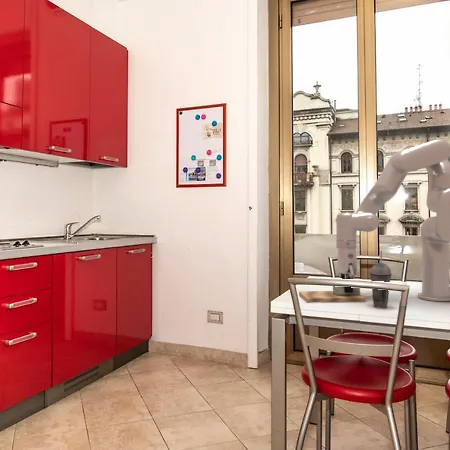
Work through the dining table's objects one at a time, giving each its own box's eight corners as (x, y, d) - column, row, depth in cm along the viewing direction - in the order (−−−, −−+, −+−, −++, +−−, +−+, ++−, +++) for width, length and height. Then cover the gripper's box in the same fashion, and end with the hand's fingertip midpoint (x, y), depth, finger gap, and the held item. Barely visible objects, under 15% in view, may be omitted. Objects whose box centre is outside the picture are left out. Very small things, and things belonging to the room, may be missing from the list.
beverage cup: (389, 304, 152) (390, 249, 151) (393, 309, 145) (393, 251, 144) (368, 303, 154) (368, 249, 153) (370, 308, 147) (371, 251, 146)
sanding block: (355, 292, 167) (355, 277, 167) (359, 295, 162) (359, 279, 162) (332, 293, 166) (332, 278, 166) (336, 295, 161) (336, 280, 161)
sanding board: (352, 294, 171) (352, 290, 171) (365, 301, 157) (365, 297, 157) (299, 295, 170) (299, 291, 170) (307, 302, 156) (307, 298, 156)
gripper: (364, 246, 155) (363, 295, 156) (348, 242, 172) (348, 287, 173) (343, 246, 155) (343, 295, 155) (330, 243, 172) (330, 287, 172)
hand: (346, 290), depth 164 cm, fingers closed on sanding block, 5 cm apart
